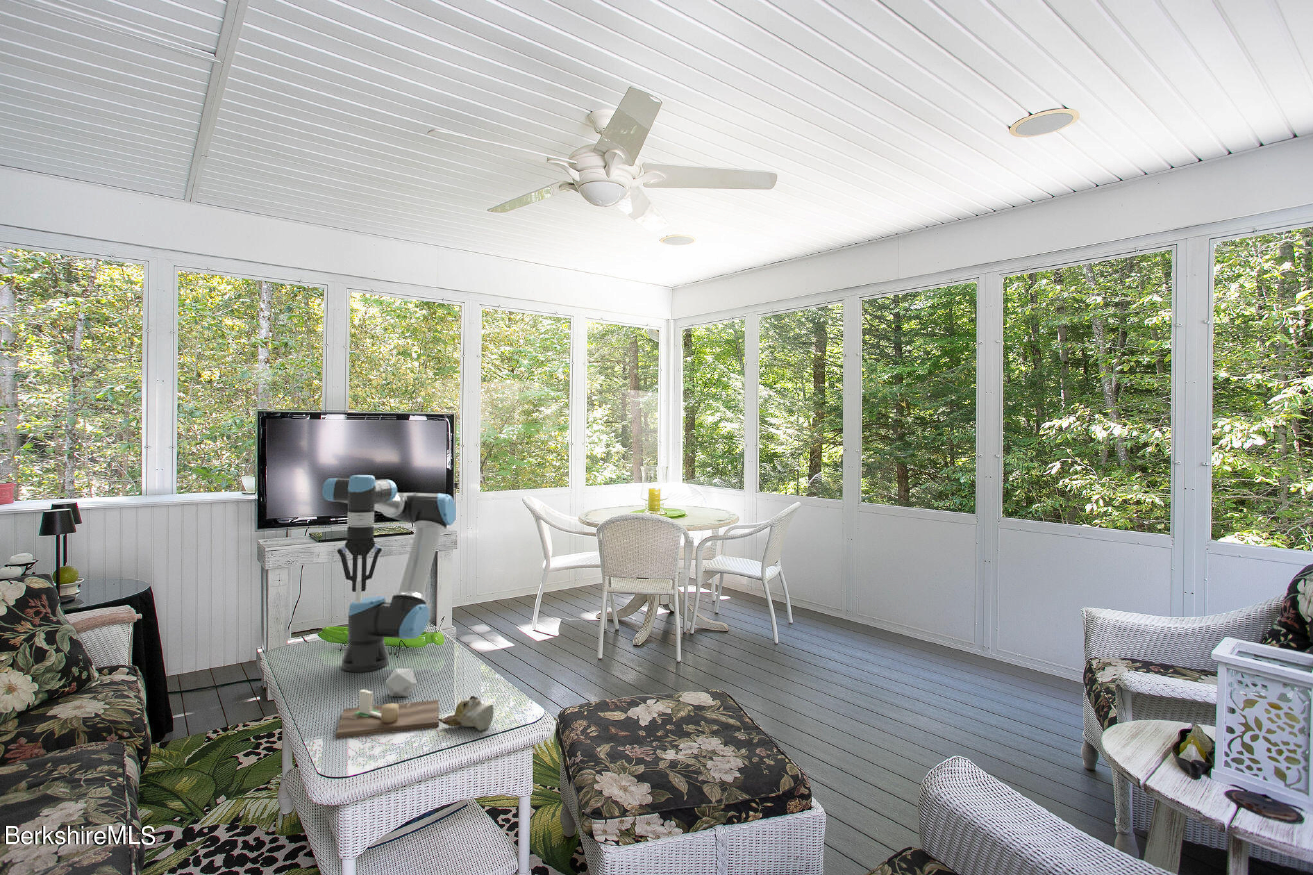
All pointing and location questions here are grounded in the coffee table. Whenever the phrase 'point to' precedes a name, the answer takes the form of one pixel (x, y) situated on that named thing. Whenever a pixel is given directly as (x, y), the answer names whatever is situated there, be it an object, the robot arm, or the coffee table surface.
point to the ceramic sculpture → (471, 714)
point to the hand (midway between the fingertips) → (358, 601)
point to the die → (401, 682)
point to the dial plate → (408, 719)
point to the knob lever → (387, 712)
